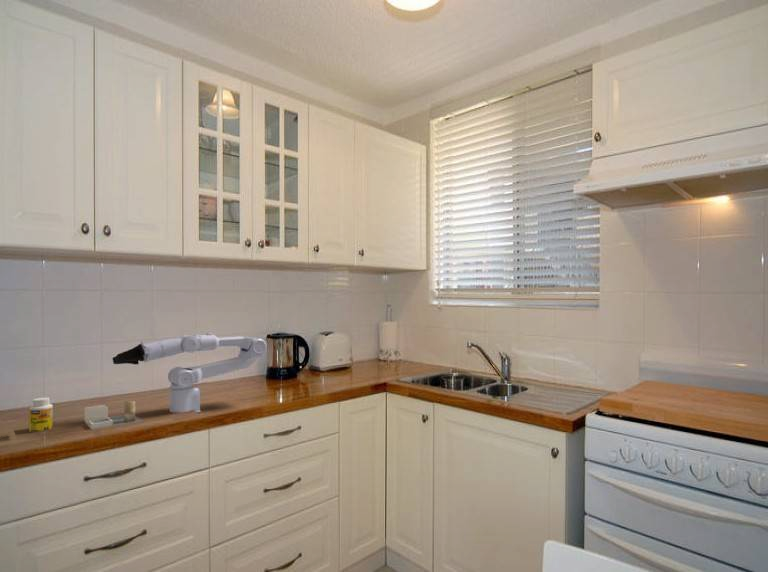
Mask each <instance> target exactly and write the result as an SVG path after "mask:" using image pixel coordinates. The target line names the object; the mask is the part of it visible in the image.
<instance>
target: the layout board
mask: <svg viewBox="0 0 768 572" xmlns="http://www.w3.org/2000/svg"><path fill="white" fill-rule="evenodd" d="M139 422H140V423H141V422H143V420H142V419H140V418H139V417H138V416H136V415H135V421H133V422H124V414H120V415H118V414H117V415H112V416H108V417H106V418H100V419H93V420H88V424H87V423H86V422H85V420H83V423H84V424H85V425H86V427H88V428H89V429H90V431H93V430H99V429H106V428H110V427H118V426H122V425H128V424H129V425H130V424H136V423H139Z"/></svg>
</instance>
